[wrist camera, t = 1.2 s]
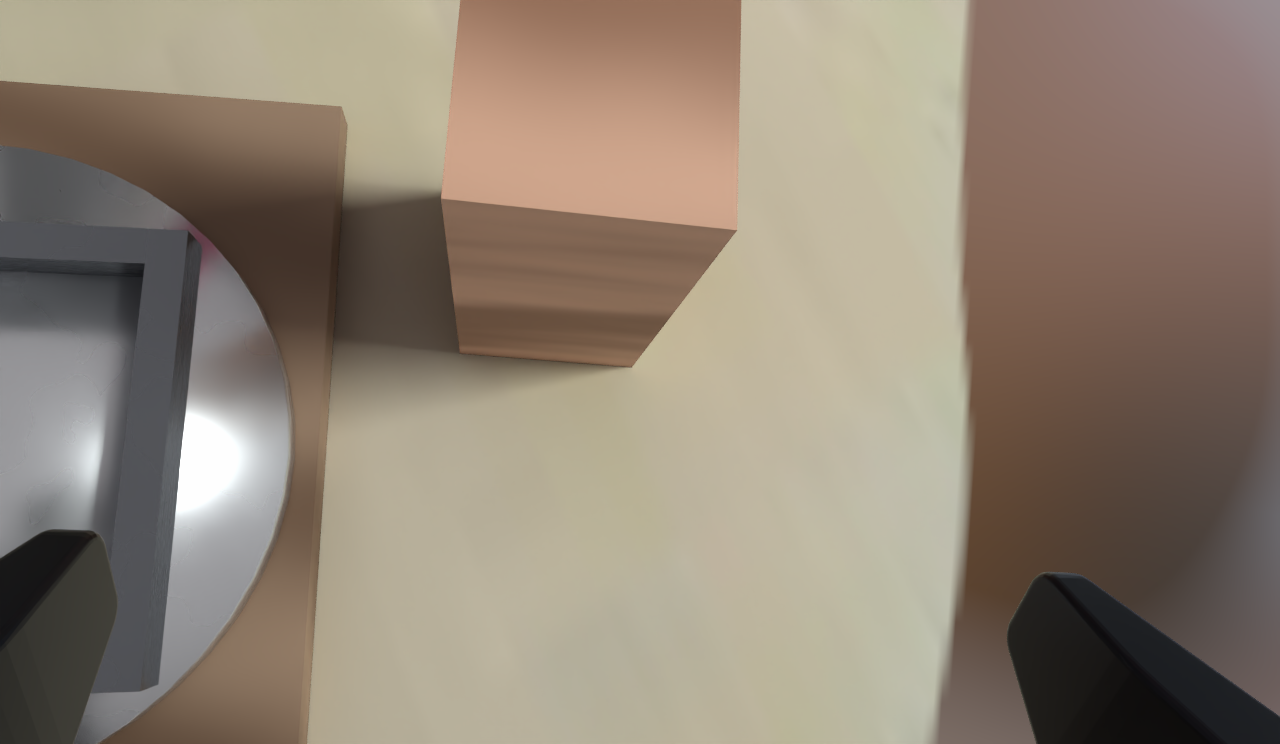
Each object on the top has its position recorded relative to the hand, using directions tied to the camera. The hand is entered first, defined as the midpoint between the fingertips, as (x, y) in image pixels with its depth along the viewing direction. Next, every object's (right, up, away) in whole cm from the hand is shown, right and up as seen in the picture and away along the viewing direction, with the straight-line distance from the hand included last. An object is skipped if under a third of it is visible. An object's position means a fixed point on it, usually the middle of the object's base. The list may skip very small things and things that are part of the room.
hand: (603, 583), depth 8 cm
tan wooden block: (-2, +5, +15) cm, 16 cm away
